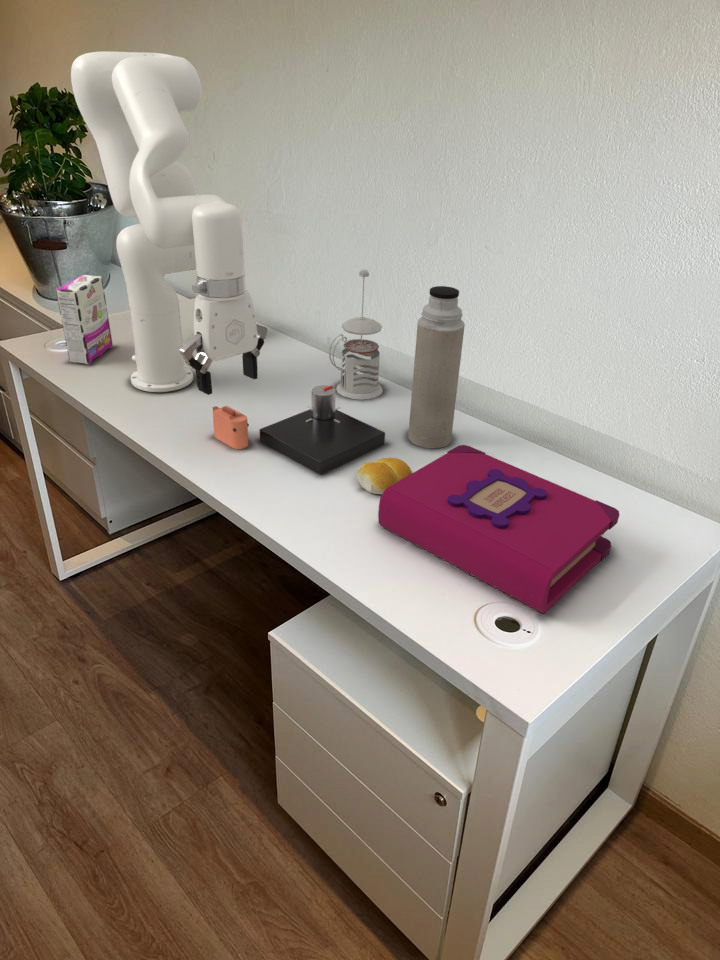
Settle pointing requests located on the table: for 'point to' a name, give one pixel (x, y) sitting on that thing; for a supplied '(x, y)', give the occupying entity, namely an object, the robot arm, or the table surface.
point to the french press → (351, 381)
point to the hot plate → (322, 439)
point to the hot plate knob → (323, 402)
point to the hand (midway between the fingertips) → (228, 384)
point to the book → (500, 524)
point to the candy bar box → (84, 318)
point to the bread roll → (382, 474)
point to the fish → (230, 427)
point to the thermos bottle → (436, 369)
